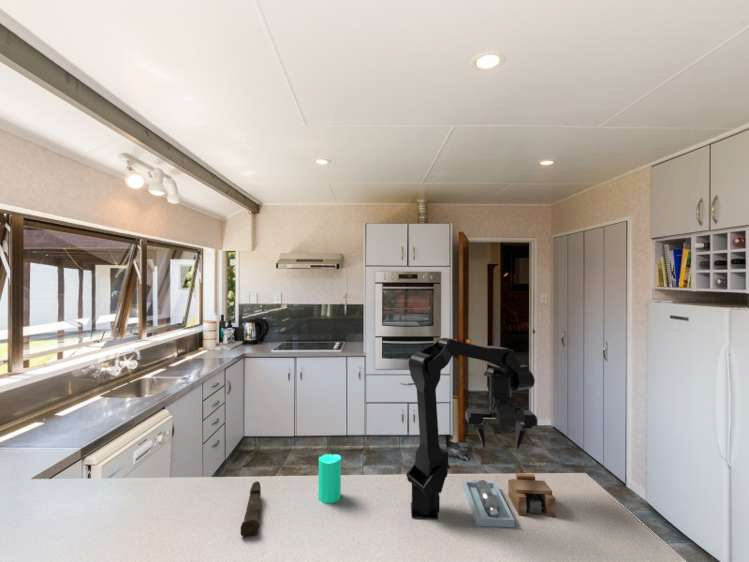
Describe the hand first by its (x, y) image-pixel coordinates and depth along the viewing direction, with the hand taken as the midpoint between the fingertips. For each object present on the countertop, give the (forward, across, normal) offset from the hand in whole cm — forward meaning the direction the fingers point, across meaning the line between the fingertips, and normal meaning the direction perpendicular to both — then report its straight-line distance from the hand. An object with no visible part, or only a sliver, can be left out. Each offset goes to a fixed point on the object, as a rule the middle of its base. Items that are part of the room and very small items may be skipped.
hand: (500, 447), depth 110 cm
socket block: (+12, +6, -7) cm, 15 cm away
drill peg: (+11, -6, -9) cm, 16 cm away
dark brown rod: (+12, -65, -16) cm, 68 cm away
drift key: (+12, +6, -6) cm, 15 cm away
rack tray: (+12, -6, -8) cm, 15 cm away
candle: (+12, -47, -7) cm, 49 cm away
